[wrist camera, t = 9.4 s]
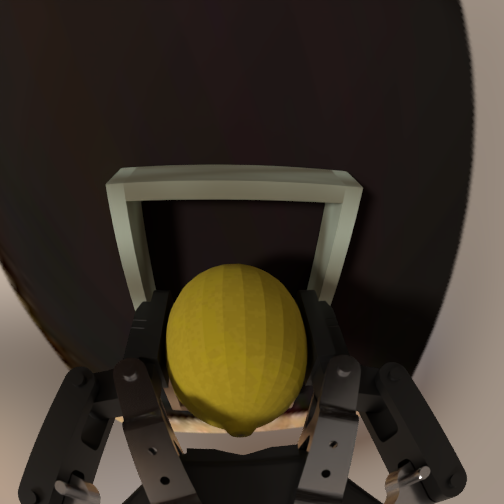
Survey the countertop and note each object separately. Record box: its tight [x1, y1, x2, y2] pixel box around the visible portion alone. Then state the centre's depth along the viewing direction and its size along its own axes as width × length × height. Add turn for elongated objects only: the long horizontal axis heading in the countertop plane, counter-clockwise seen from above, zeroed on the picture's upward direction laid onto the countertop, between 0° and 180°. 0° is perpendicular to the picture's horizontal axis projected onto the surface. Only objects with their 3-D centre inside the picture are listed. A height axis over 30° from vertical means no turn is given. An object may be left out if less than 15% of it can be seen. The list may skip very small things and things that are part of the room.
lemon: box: [165, 264, 308, 437], centre depth 11 cm, size 6×6×8 cm
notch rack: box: [106, 165, 363, 411], centre depth 17 cm, size 20×11×2 cm, turn 177°
